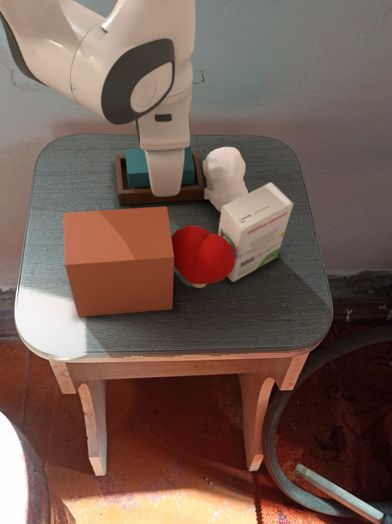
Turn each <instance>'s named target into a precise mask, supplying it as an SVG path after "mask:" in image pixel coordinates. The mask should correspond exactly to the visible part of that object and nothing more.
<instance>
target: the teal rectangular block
mask: <svg viewBox="0 0 392 524" xmlns="http://www.w3.org/2000/svg"><path fill="white" fill-rule="evenodd" d="M124 150H125V155H126V165H127V175H128V185H129V188H139V187H151V184H150V178H149V173H148V167H147V161H146V156H145V151H144V150H142V149H141V148H131V149H130V148H127V149H124ZM191 151H192V147H191V146H190V145H189V147H186V148H185V153H184V166H183V173H182V180H181V185H189V184H194V172H195V169H194V164H193V158H192V152H191Z"/></svg>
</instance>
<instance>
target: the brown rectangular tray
mask: <svg viewBox="0 0 392 524" xmlns="http://www.w3.org/2000/svg"><path fill="white" fill-rule="evenodd" d="M191 152H192V158H193V164H194V169H195V172H194V184H189V185H181V187H180V191H179V193H178V194H177V195H174V196H166V197H157V196H154V194H153V192H152V189H151V187H139V188H129V185H128V175H127V165H126V154H115V155H114V161H115V163H114V164H115V172H116V173H115V174H116V185H117V194H118V205H119V206H124V205H139V204H155V203H157V204H158V203H173V202H187V201H188V202H189V201H202V200H204V193H205V192H204V190H205V185H204V184H205V183H204V180H203V172H202V168H201V163H200V158H199V151H198V150H191Z"/></svg>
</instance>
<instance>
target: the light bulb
mask: <svg viewBox="0 0 392 524" xmlns="http://www.w3.org/2000/svg"><path fill="white" fill-rule="evenodd" d="M171 238H172V246H173V253H174V268H175V269H176V270H177V272H178V273H179V275H180V276H181V277H182V278H184V279H185V280H186V281H187V282H188V283H189V284H190V285H192V286H193V287H194V288H196V289H197V288H199V289H201V288H205V287H206V286H207V285H208V284H213V283H217V282H220V281H223V280H224V279H225V278H228V277H227V276H228V275H229V274H230V273H231V272H232V270H233V268H234V265H235V255H234V251H233V249H232V247H231V245H230V244H229V243H228V242H227V240H226V239H224V238H223V237H221V236H219V235H218V234H216V233H212V232H210V231H209V230H208V229H206V228H204V227H201V226H199V225H194V224H193V225H192V224H191V225H184V226H182V227H180V228H178V229H176V231H174V233H172V234H171Z"/></svg>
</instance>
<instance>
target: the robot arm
mask: <svg viewBox="0 0 392 524" xmlns="http://www.w3.org/2000/svg"><path fill="white" fill-rule="evenodd" d="M196 17H197V16H196V0H117V2H116V4H115V5H114V7H113V9H112V10H111V12H110V13H109V15H108V16H107V17H104V16H102V15H100V14H99V13H97V12H95V11H93V10H91V9H89V8H87V7H86V6H84V5H83V4H80V3H79V2H77V1H75V0H0V22H1V24H2V28H3V30H4V33H5V36H6V41H7V44H8V49H9V51H10V54H11V57H12V59H13V62H14V64H15V65H16V68H17V69H18V70H19V71H20V73H22V75H24V76H25V77H27V78H28V79H31V80H33V81H35V82H37V83H39V84H40V85H42V86H45V87H48V88H50V89H52V90H54V91H55V92H56V93H59V94H60V95H62V96H64V97H65V98H67V99H69V100H70V101H72V102H73V103H75V104H77V105H78V106H80V107H82V108H84V109H86V110H87V111H89V112H91V113H92V114H94V115H96V116H98V117H99V118H101V119H102V120H105V121H107V122H109V123H110V124H112V125H115V126H116V125H117V126H122V125H127V124H130V123H132V122H133V124H134V126H135V130H136V134H137V138H138V143H139V146H140V149H142V150H144V151H145V156H146V161H147V167H148V173H149V178H150V184H151V189H152V192H153V194H154V196H157V197H166V196H174V195H177V194H178V193H179V191H180V187H181V180H182V173H183V166H184V153H185V148H186V147H189V146H190V144H191V126H190V125H191V124H190V117H191V113H192V112H191V111H192V101H193V98H192V97H193V83H194V69H193V65H192V56H193V53H194V50H195V46H196Z"/></svg>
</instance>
